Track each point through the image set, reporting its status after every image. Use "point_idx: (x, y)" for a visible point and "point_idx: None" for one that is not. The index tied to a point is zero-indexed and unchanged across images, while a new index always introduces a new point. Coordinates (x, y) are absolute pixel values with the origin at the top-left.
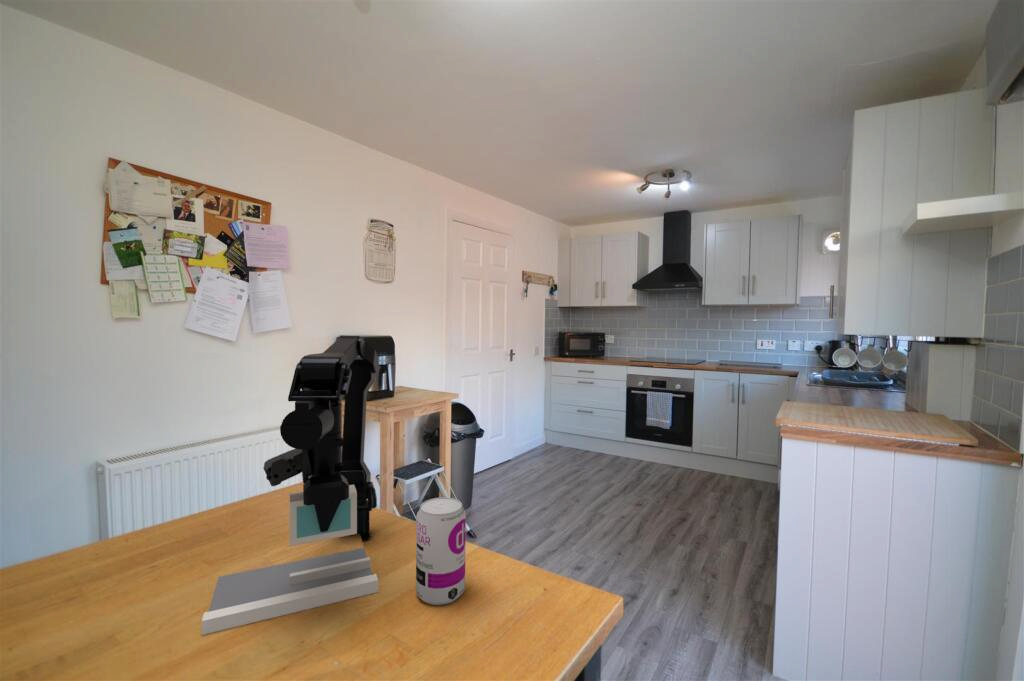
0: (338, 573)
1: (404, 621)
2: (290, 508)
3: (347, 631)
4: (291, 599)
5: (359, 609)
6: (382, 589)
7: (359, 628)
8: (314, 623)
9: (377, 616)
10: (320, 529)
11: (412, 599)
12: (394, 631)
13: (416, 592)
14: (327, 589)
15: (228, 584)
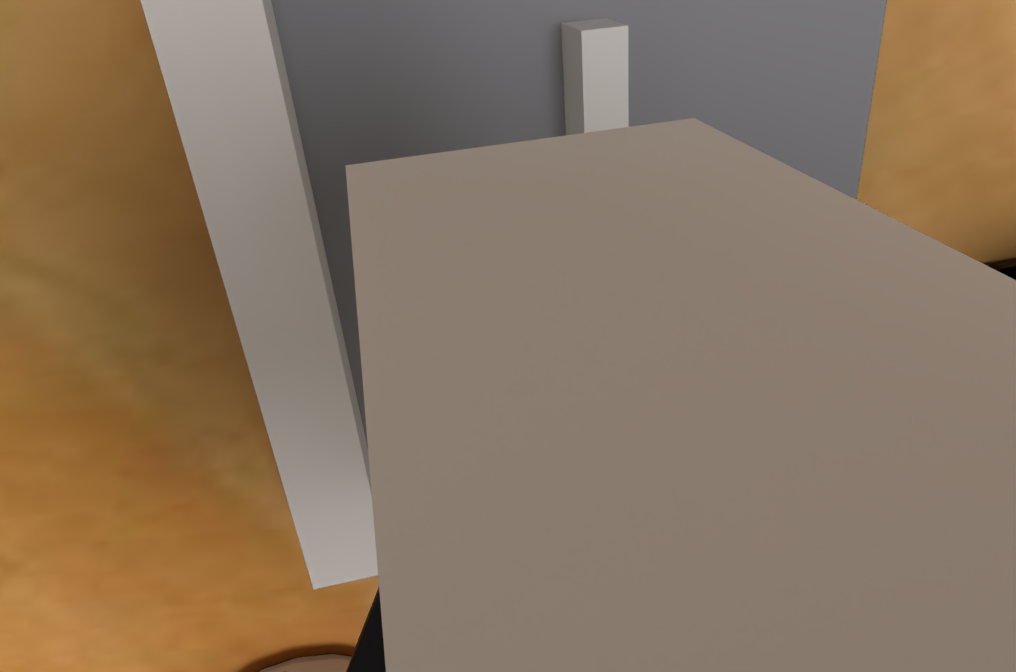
0: None
1: (112, 615)
2: (394, 597)
3: (60, 390)
4: (180, 98)
5: (260, 427)
6: None
7: (81, 442)
8: (168, 211)
9: (176, 510)
10: (373, 609)
11: (289, 631)
12: (34, 584)
13: (292, 669)
14: (273, 334)
15: None
